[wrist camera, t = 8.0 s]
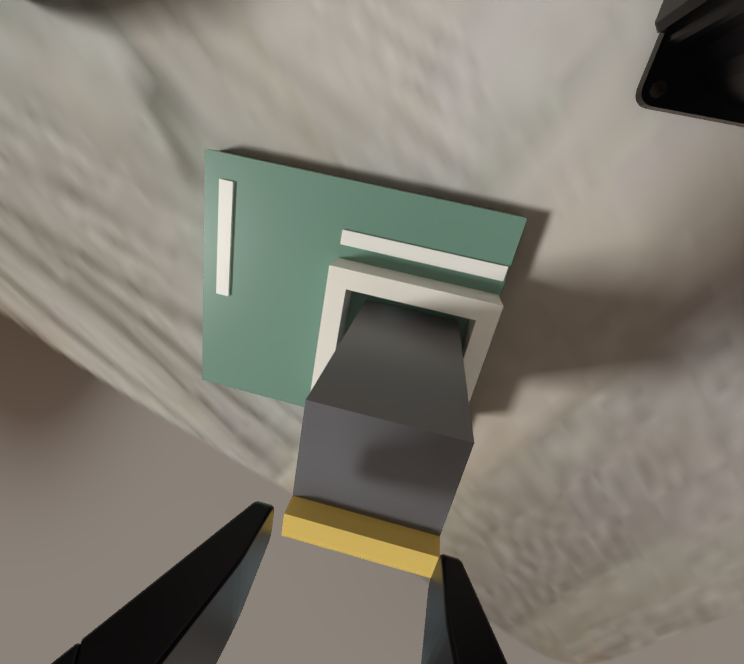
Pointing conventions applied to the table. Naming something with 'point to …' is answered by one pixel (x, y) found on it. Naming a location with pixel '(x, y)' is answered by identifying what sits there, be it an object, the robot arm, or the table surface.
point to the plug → (384, 440)
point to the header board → (335, 269)
